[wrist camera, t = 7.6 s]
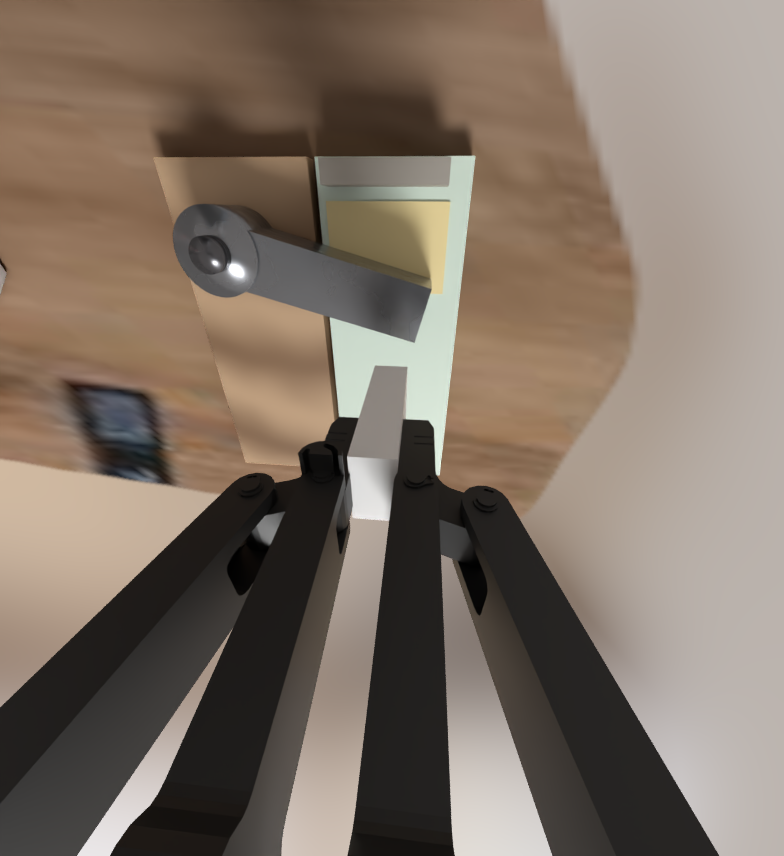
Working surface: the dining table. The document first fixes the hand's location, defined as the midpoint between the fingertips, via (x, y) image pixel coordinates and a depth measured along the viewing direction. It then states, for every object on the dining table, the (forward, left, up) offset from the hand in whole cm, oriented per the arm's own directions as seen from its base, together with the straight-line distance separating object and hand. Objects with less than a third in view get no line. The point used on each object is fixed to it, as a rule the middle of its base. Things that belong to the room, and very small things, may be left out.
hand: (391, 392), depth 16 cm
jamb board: (+1, -9, -8) cm, 12 cm away
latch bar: (-4, -5, -6) cm, 9 cm away
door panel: (+1, -1, -8) cm, 8 cm away
